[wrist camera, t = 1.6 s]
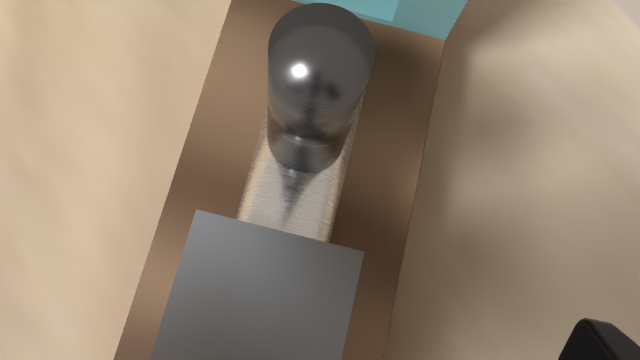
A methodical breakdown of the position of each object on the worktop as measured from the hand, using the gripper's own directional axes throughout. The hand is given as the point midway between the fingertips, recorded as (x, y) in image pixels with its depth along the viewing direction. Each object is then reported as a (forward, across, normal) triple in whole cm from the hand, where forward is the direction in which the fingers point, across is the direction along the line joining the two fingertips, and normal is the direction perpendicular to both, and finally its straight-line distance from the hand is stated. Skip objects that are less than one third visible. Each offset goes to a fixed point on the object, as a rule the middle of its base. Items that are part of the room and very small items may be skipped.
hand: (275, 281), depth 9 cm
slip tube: (+8, 0, +5) cm, 10 cm away
